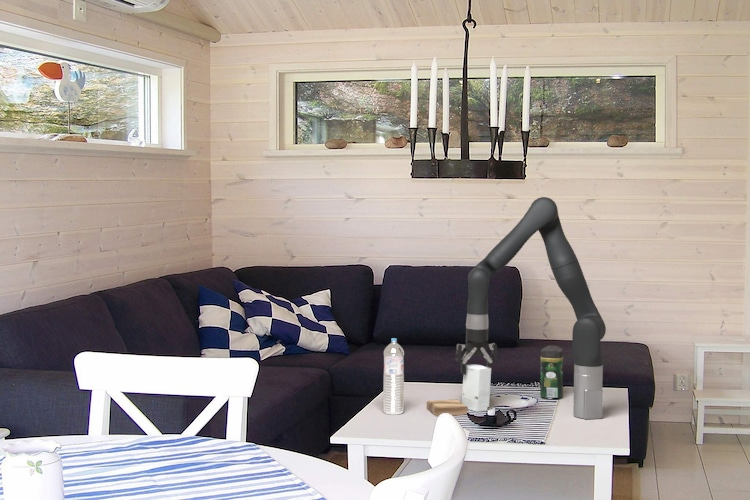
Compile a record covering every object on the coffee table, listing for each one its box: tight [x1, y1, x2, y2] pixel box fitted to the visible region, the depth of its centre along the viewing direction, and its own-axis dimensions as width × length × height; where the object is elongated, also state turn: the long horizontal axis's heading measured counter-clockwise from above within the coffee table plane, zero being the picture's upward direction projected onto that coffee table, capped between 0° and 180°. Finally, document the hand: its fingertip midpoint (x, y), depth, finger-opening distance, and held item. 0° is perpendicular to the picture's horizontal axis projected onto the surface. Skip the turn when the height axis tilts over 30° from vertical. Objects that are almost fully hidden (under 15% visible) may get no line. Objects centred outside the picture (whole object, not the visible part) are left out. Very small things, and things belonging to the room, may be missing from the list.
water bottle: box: [382, 337, 405, 416], centre depth 313 cm, size 7×7×25 cm
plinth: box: [426, 398, 469, 417], centre depth 315 cm, size 11×11×3 cm
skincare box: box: [461, 363, 492, 413], centre depth 319 cm, size 8×6×15 cm
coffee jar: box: [539, 345, 564, 399], centre depth 339 cm, size 10×8×19 cm
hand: (476, 374), depth 319 cm, fingers open, 8 cm apart
